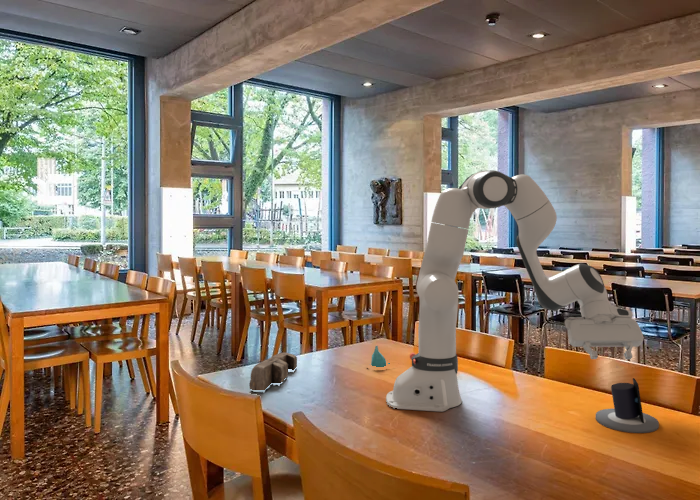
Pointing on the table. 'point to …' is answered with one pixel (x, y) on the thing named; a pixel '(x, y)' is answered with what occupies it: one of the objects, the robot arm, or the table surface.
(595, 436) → the table surface
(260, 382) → the sculpture
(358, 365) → the table surface
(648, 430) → the speaker stand
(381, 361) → the teal tapered piece
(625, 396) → the speaker
